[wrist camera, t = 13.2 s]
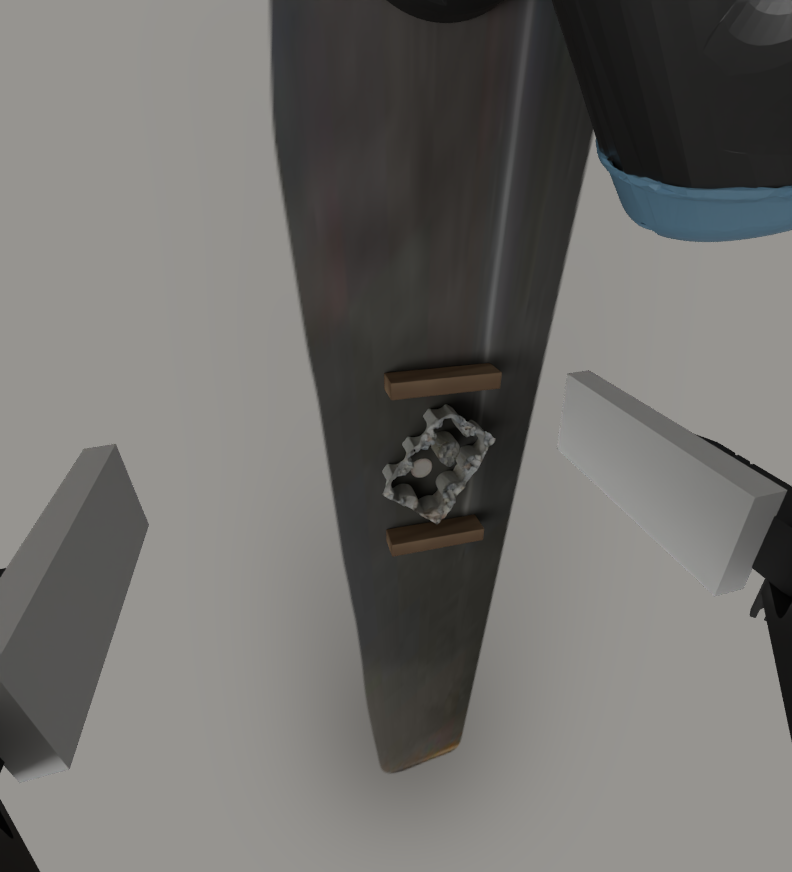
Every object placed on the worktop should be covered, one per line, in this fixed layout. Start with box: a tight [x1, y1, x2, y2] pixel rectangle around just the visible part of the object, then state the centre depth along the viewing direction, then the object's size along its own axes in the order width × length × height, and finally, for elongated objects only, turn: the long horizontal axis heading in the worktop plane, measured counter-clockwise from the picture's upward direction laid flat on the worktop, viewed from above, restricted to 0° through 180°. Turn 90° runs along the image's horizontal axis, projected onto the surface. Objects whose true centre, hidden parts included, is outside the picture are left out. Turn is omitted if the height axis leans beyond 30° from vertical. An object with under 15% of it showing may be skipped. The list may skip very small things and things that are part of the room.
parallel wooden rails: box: [384, 363, 502, 557], centre depth 46 cm, size 19×10×2 cm, turn 0°
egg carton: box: [382, 404, 495, 525], centre depth 45 cm, size 11×8×4 cm
